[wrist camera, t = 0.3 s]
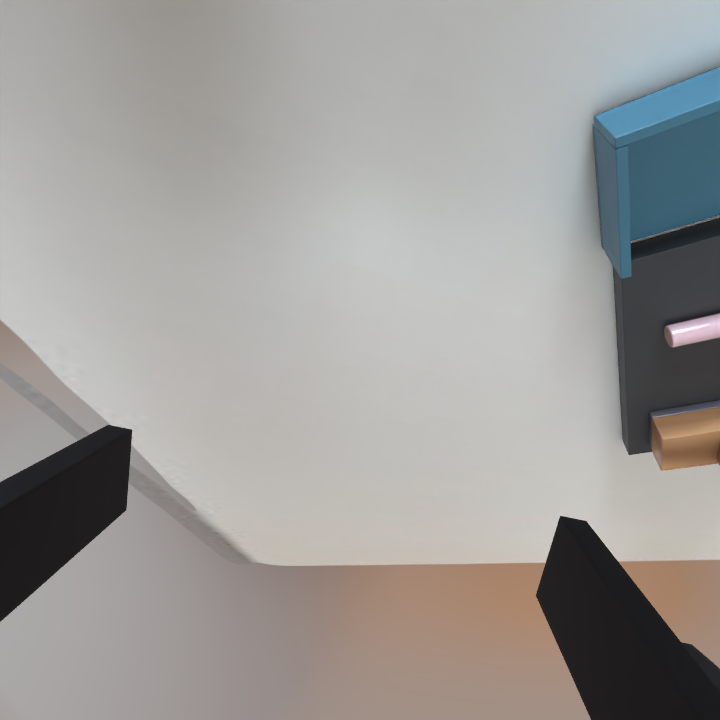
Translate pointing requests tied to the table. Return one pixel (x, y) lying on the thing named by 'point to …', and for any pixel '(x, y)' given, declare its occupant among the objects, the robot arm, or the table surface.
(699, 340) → the chalk
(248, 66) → the table surface
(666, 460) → the wooden block on base
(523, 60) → the table surface
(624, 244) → the dustpan
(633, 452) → the chalkboard
